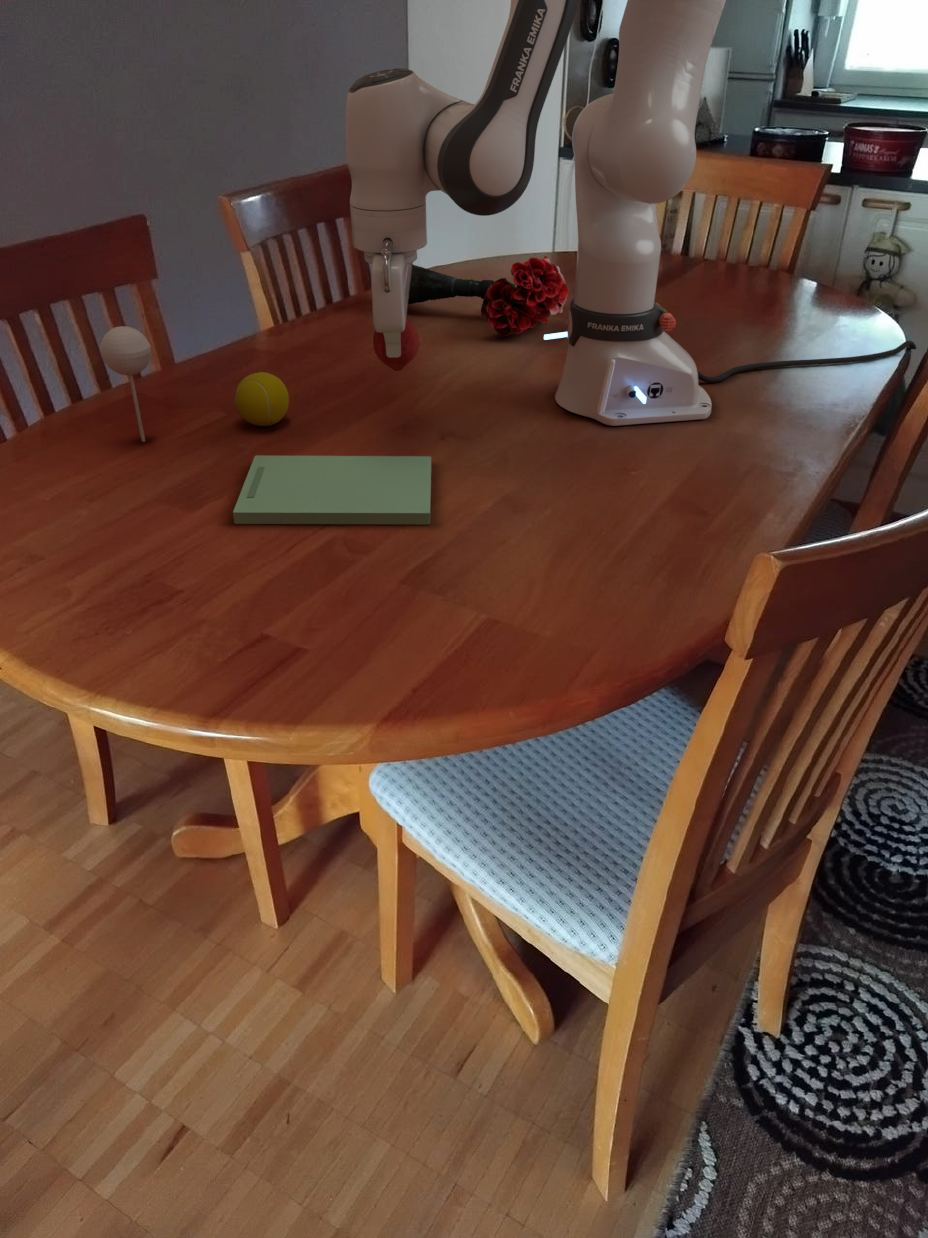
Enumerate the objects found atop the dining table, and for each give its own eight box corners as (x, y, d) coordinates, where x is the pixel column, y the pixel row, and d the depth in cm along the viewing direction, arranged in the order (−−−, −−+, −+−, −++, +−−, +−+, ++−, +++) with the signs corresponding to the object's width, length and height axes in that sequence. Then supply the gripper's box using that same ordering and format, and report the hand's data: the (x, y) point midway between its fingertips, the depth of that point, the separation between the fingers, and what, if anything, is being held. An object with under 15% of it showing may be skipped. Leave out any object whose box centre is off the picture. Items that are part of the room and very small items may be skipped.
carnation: (387, 350, 177) (566, 365, 166) (347, 305, 160) (544, 318, 149) (404, 272, 179) (583, 281, 168) (366, 219, 161) (563, 225, 150)
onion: (413, 380, 117) (411, 315, 112) (369, 377, 118) (365, 313, 113) (424, 364, 122) (422, 301, 117) (382, 361, 123) (378, 299, 118)
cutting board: (431, 467, 118) (431, 455, 117) (430, 524, 106) (429, 512, 105) (256, 466, 118) (254, 454, 117) (234, 524, 105) (232, 511, 104)
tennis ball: (274, 437, 125) (269, 386, 121) (229, 429, 127) (222, 379, 123) (299, 418, 130) (295, 369, 126) (255, 410, 132) (250, 362, 128)
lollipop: (176, 435, 125) (156, 323, 116) (150, 453, 120) (128, 337, 112) (136, 429, 127) (114, 317, 118) (109, 446, 122) (84, 331, 113)
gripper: (413, 251, 102) (418, 374, 110) (418, 210, 118) (422, 320, 126) (355, 251, 102) (364, 375, 110) (368, 211, 118) (375, 321, 126)
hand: (395, 345), depth 118 cm, fingers closed on onion, 6 cm apart
